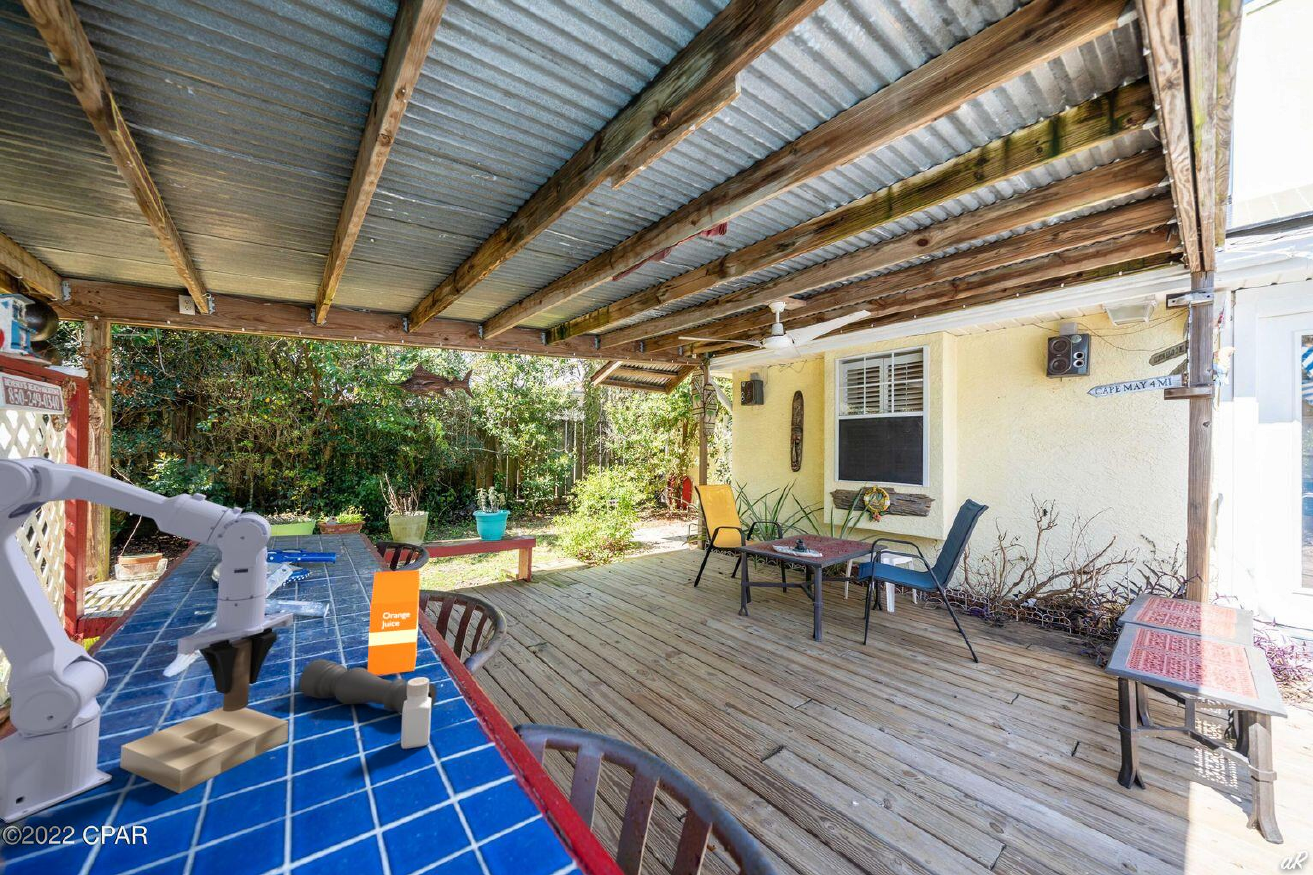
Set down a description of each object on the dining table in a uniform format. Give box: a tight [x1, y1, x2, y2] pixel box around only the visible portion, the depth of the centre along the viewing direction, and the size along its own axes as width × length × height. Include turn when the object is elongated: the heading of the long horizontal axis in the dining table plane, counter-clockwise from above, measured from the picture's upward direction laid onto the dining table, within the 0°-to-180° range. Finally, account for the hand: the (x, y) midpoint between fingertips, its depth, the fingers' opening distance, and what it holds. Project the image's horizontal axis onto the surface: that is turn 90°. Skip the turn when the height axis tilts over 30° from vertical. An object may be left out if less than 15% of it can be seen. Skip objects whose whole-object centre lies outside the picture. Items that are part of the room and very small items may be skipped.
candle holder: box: [298, 658, 438, 716], centre depth 95 cm, size 6×6×25 cm
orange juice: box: [367, 569, 420, 676], centre depth 112 cm, size 8×9×20 cm
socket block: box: [119, 706, 289, 794], centre depth 79 cm, size 14×14×3 cm
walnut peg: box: [222, 638, 252, 712], centre depth 79 cm, size 3×3×10 cm
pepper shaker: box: [400, 676, 432, 749], centre depth 83 cm, size 4×4×10 cm
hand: (236, 686), depth 79 cm, fingers closed on walnut peg, 3 cm apart
